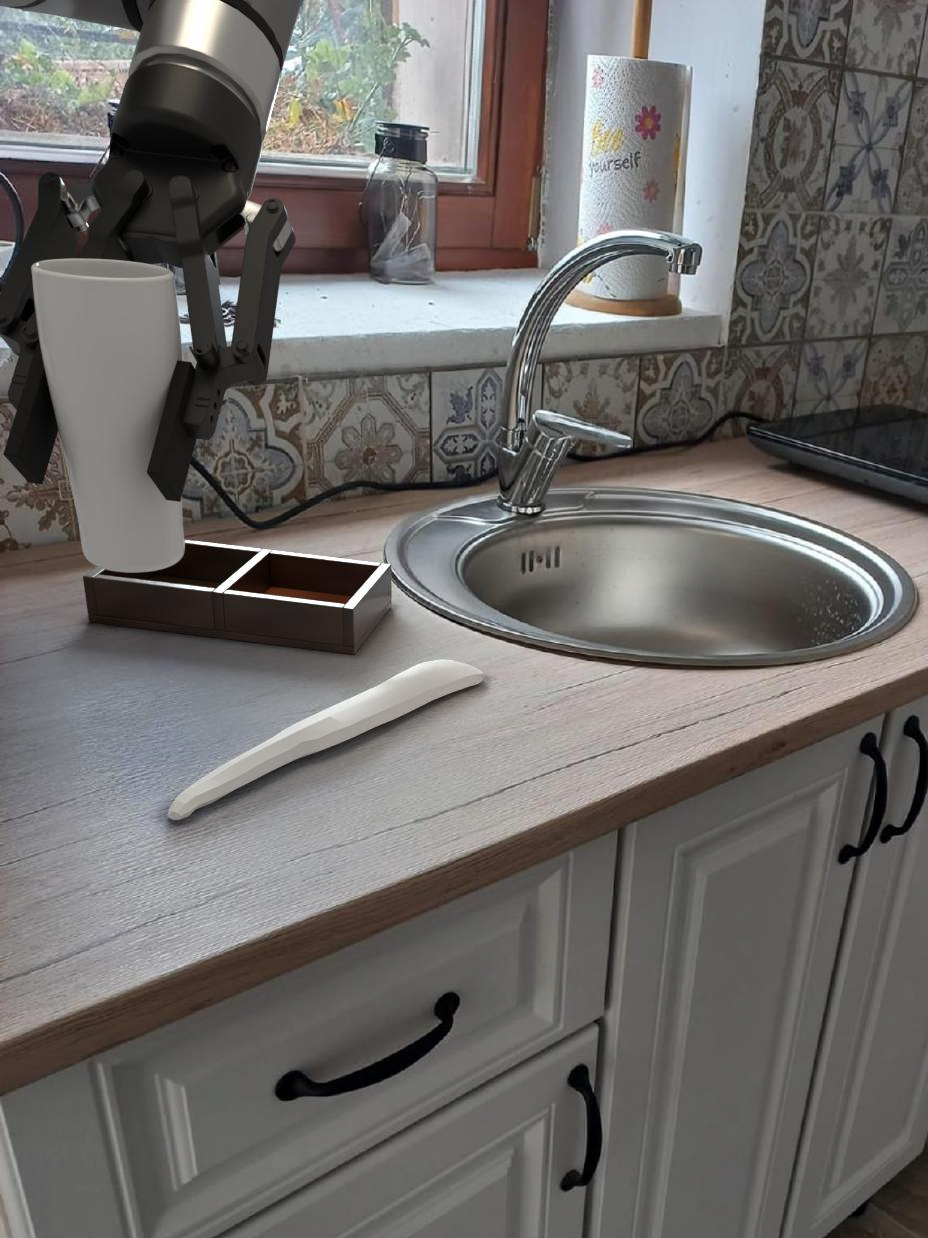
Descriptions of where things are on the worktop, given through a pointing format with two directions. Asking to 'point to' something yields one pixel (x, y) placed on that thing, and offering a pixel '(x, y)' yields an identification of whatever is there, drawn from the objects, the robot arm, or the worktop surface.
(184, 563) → the divided tray
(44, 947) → the worktop surface
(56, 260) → the drinking glass
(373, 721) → the white long thin piece
